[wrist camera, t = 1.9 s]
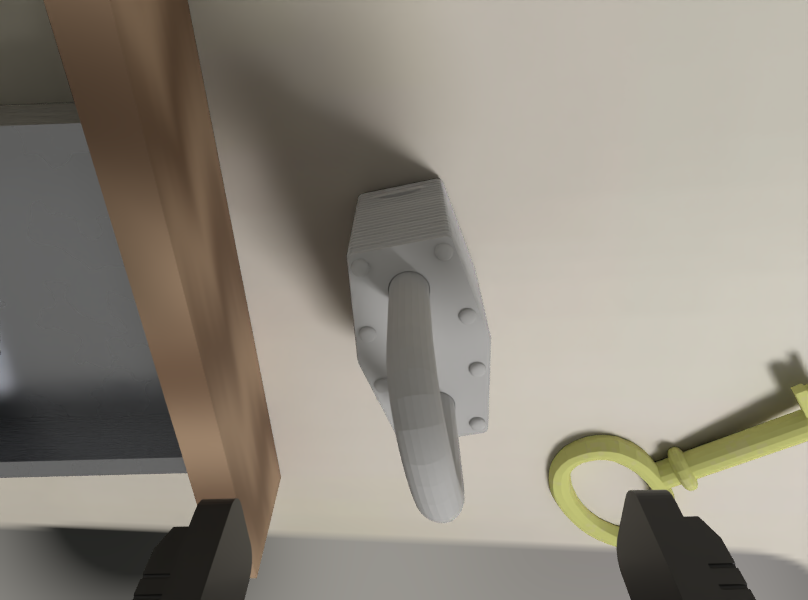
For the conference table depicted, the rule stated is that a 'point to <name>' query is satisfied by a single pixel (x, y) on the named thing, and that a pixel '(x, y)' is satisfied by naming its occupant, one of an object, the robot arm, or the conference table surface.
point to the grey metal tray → (69, 316)
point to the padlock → (421, 334)
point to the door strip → (174, 236)
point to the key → (671, 462)
